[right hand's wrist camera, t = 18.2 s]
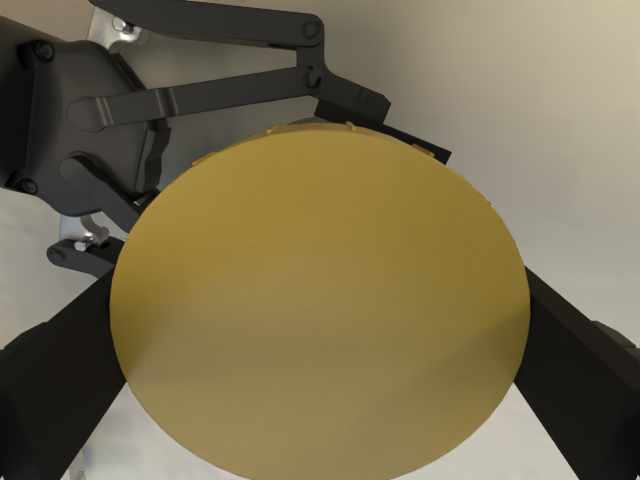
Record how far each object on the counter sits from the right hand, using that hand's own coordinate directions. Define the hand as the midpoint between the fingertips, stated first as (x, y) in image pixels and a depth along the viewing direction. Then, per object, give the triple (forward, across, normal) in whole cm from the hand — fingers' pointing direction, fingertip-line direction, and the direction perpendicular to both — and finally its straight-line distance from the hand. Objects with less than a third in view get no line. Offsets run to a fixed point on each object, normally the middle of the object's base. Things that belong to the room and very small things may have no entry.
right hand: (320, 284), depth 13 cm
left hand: (+7, -4, +2) cm, 9 cm away
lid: (-3, 0, 0) cm, 3 cm away
